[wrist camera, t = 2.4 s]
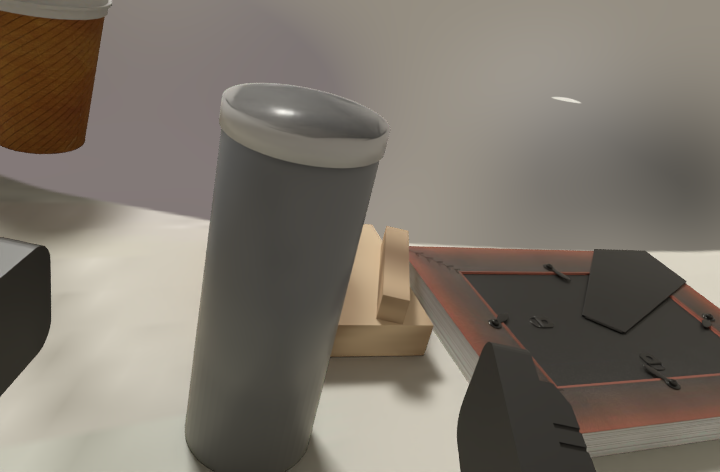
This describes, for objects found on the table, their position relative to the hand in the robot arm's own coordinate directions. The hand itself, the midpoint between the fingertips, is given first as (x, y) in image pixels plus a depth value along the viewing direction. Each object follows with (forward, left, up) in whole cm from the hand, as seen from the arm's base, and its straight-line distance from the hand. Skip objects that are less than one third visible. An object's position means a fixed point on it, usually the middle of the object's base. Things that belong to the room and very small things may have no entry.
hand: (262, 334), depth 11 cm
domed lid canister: (+3, +10, -13) cm, 16 cm away
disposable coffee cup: (-9, +40, -13) cm, 43 cm away
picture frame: (+25, +15, -13) cm, 32 cm away
